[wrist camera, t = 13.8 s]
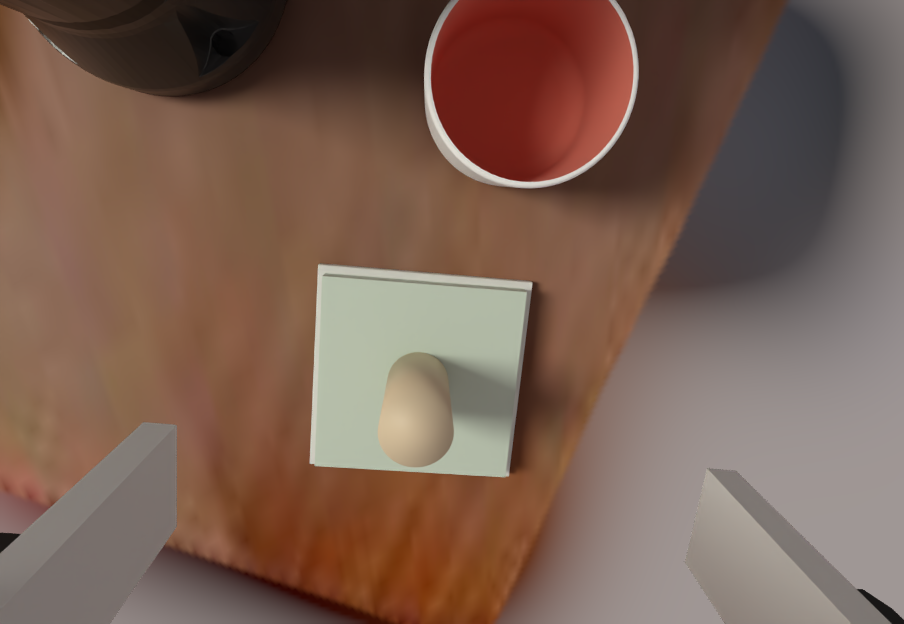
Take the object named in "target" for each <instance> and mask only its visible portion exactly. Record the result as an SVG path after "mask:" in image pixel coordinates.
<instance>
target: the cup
mask: <svg viewBox="0 0 904 624" xmlns="http://www.w3.org/2000/svg"><path fill="white" fill-rule="evenodd" d="M638 79H639V64H638V54H637V48H636V43H635V39H634V36H633V32H632V30H631V27H630V25H629V23H628V20H627V18H626V16H625V14H624V12H623V11H622V9H621V7H620V6H619V4H618V3H617V1H616V0H450V1H449V3H448V4H447V6H446V7H445V8H444V10H443V12H442V13H441V15H440V17H439V18H438V20H437V23H436V25H435V27H434V29H433V32H432V34H431V37H430V40H429V44H428V48H427V52H426V58H425V67H424V97H425V112H426V119H427V123H428V127H429V130H430V132H431V135H432V137H433V139H434V141H435V143H436V145H437V147H438V148H439V150H440V151H441V153H442V154H443V155H444V157H445V158H446V159H447V160H448V161H449V162H450V163H451V164H452V165H453V166H454V167H455V168H456V169H458V170H459V171H460V172H462V173H463V174H465V175H466V176H468V177H470V178H472V179H474V180H477V181H479V182H482V183H486V184H489V185H496V186H504V187H515V188H542V187H548V186H553V185H556V184H560V183H563V182H565V181H568V180H570V179H572V178H575V177H577V176H578V175H580V174H582V173H583V172H585V171H587V170H588V169H589V168H591V167H592V166H594V165H595V164H596V163H597V162H598V161H599V160H601V159H602V158H603V157H604V156H605V155H606V154H607V152H608V151H609V150H610V149H611V148H612V147H613V145H614V144H615V143H616V141H617V140H618V138H619V137H620V135H621V134H622V132H623V130H624V128H625V126H626V124H627V122H628V120H629V118H630V115H631V112H632V109H633V106H634V102H635V99H636V94H637V88H638Z"/></svg>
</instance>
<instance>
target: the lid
mask: <svg viewBox="0 0 904 624" xmlns="http://www.w3.org/2000/svg"><path fill="white" fill-rule="evenodd" d="M526 296H527V292H526V290H525V289H521V288H508V287H495V286H483V285H470V284H457V283H445V282H432V281H419V280H407V279H394V278H381V277H369V276H356V275H343V274H331V273H325V274H324V275H323V276H322V294H321V319H320V344H319V370H318V395H317V420H316V445H315V466H325V467H342V468H359V469H375V470H392V471H409V472H426V473H443V474H460V475H477V476H494V477H505V476H506V467H507V459H508V450H509V442H510V433H511V425H512V416H513V407H514V399H515V390H516V382H517V373H518V365H519V356H520V348H521V339H522V331H523V322H524V313H525V305H526Z"/></svg>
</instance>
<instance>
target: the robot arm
mask: <svg viewBox="0 0 904 624" xmlns="http://www.w3.org/2000/svg"><path fill="white" fill-rule="evenodd" d="M285 3H286V0H0V4H1V5H3V6H6V7H8V8H11V9H13V10H16V11H18V12H21V13H23V14H24V15H25V16H26V17H27V18H28V19H29V21H30V22H31V23H32V24H33V25H34V26H35V27H36V29H37V30H38V31H39V32H40V34H41V35H42V36H43V37H44V38H45V39H46V40H47V41H48V42H49V43H50V44H51V45H52V46H53V47H54V48H55V49H56V50H57V51H59V52H60V53H61V54H62V55H63V56H65V57H66V58H67V59H69V60H70V61H71V62H73V63H74V64H76V65H77V66H79V67H81V68H82V69H84V70H85V71H87V72H89V73H91V74H93V75H94V76H96V77H98V78H101V79H103V80H105V81H108V82H110V83H113V84H116V85H119V86H122V87H125V88H129V89H132V90H135V91H139V92H143V93H148V94H153V95H161V96H182V95H190V94H196V93H200V92H204V91H207V90H210V89H213V88H216V87H218V86H220V85H222V84H224V83H226V82H228V81H230V80H232V79H233V78H235V77H236V76H238V75H239V74H240V73H242V72H243V71H244V70H245V69H247V68H248V67H249V66H250V65H251V64H252V63H253V62H254V61H255V60H256V59H257V58H258V57H259V56H260V54H261V53H262V52H263V50H264V49H265V48H266V46H267V45H268V43H269V42H270V40H271V38H272V37H273V35H274V33H275V31H276V29H277V27H278V24H279V22H280V19H281V17H282V14H283V10H284V7H285ZM176 527H177V425H171V424H158V423H146V422H143V423H142V424H141V425H140V426H139V427H138V428H137V429H136V430H135V431H133V432H132V433H131V434H130V435H129V436H128V437H127V438H126V439H125V440H124V441H123V442H121V443H120V444H119V445H118V446H117V447H116V448H115V449H114V450H113V451H112V452H110V453H109V454H108V455H107V456H106V457H105V458H104V459H103V460H102V461H101V462H100V463H98V464H97V465H96V466H95V467H94V468H93V469H92V470H91V471H90V472H89V473H88V474H86V475H85V476H84V477H83V478H82V479H81V480H80V481H79V482H78V483H77V484H76V485H74V486H73V487H72V488H71V489H70V490H69V491H68V492H67V493H66V494H65V495H63V496H62V497H61V498H60V499H59V500H58V501H57V502H56V503H55V504H54V505H53V506H51V507H50V508H49V509H48V510H47V511H46V512H45V513H44V514H43V515H42V516H41V517H40V518H38V519H37V520H36V521H35V522H34V523H33V524H32V525H31V526H30V527H29V528H27V529H26V530H25V531H24V532H23V533H22V534H13V533H0V624H110V623H111V622H112V620H113V619H114V617H115V616H116V614H117V613H118V611H119V610H120V608H121V607H122V606H123V604H124V603H125V601H126V600H127V598H128V597H129V595H130V594H131V592H132V591H133V589H134V588H135V587H136V585H137V584H138V582H139V581H140V579H141V578H142V576H143V575H144V573H145V572H146V571H147V569H148V568H149V566H150V565H151V563H152V562H153V560H154V559H155V557H156V556H157V555H158V553H159V551H160V550H161V549H162V547H163V546H164V544H165V543H166V541H167V540H168V538H169V537H170V536H171V534H172V533H173V531H174V530H175V528H176ZM685 563H686V565H687V566H688V568H689V569H690V571H691V573H692V574H693V576H694V577H695V579H696V580H697V582H698V583H699V585H700V586H701V588H702V589H703V591H704V592H705V594H706V595H707V597H708V599H709V600H710V602H711V603H712V604H713V606H714V608H715V609H716V611H717V612H718V614H719V615H720V617H721V618H722V620H723V621H724V623H725V624H904V620H903V619H902V618H901V617H900V616H899V615H898V614H897V613H896V612H895V611H894V610H893V609H892V608H890V607H889V606H887V605H886V604H884V603H883V602H881V601H880V600H878V599H877V598H875V597H874V596H872V595H871V594H869V593H868V592H866V591H865V590H863V589H856V588H855V587H854V586H853V585H852V584H851V583H850V582H849V581H848V580H847V579H846V578H845V577H844V576H842V575H841V573H840V572H838V571H837V570H836V569H835V568H834V567H833V566H832V565H831V564H830V563H829V562H828V561H827V560H826V559H825V558H824V557H823V556H822V555H821V554H820V553H819V552H818V551H817V550H816V549H815V548H814V547H813V546H812V545H811V544H810V543H809V542H808V541H807V540H806V539H805V538H804V537H803V536H802V535H801V534H800V533H799V532H798V531H797V530H796V529H795V528H794V527H793V526H792V525H791V524H790V523H789V522H788V521H787V520H785V518H784V517H783V516H782V515H780V514H779V513H778V512H777V511H776V510H775V509H774V508H773V507H772V506H771V505H770V504H769V503H768V502H767V501H766V500H765V499H764V498H763V497H762V496H761V495H760V494H759V493H758V492H757V491H756V490H755V489H754V488H753V487H752V486H751V485H750V484H749V483H748V482H747V481H746V480H745V479H744V478H743V477H742V476H741V475H740V474H739V473H738V472H737V471H733V470H721V469H708V468H707V471H706V475H705V479H704V483H703V488H702V492H701V496H700V501H699V504H698V509H697V513H696V517H695V521H694V526H693V530H692V534H691V539H690V543H689V547H688V551H687V555H686V559H685Z"/></svg>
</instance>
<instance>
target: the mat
mask: <svg viewBox="0 0 904 624" xmlns="http://www.w3.org/2000/svg"><path fill="white" fill-rule="evenodd" d="M325 273H331V274H343V275H356V276H369V277H381V278H394V279H407V280H419V281H432V282H445V283H457V284H470V285H483V286H495V287H508V288H521V289H525V290H526V292H527V296H526V305H525V313H524V322H523V331H522V339H521V348H520V356H519V365H518V373H517V382H516V390H515V399H514V407H513V416H512V425H511V433H510V442H509V450H508V459H507V467H506V476H509V470H510V462H511V454H512V446H513V437H514V429H515V421H516V413H517V405H518V397H519V389H520V381H521V373H522V364H523V356H524V348H525V340H526V332H527V324H528V316H529V308H530V300H531V291H532V282H531V281H524V280H512V279H500V278H488V277H476V276H464V275H452V274H441V273H429V272H417V271H405V270H393V269H381V268H369V267H358V266H346V265H334V264H322V263H320V264H318V283H317V306H316V330H315V353H314V377H313V400H312V423H311V447H310V464H315V445H316V420H317V395H318V370H319V344H320V319H321V294H322V276H323V275H324V274H325Z"/></svg>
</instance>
